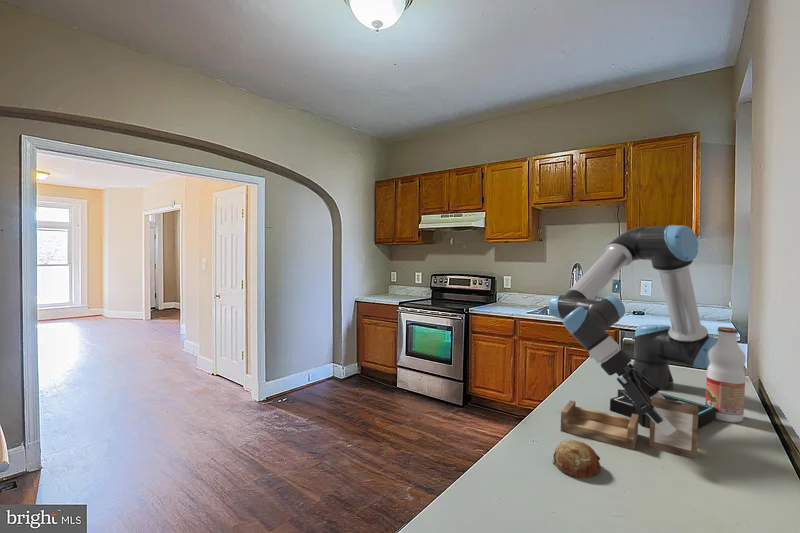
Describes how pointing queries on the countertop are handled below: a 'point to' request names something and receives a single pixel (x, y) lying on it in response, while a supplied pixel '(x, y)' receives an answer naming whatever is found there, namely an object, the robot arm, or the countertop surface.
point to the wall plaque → (628, 407)
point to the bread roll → (576, 459)
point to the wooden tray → (600, 425)
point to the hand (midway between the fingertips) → (672, 423)
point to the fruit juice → (726, 377)
